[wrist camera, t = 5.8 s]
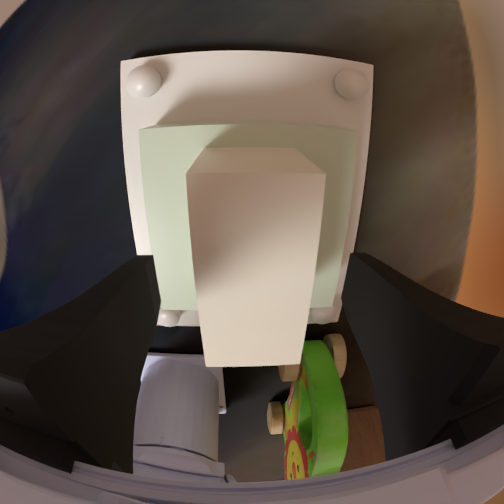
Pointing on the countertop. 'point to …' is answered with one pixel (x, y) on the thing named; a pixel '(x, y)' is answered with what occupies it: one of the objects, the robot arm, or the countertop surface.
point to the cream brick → (254, 251)
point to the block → (364, 439)
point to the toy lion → (313, 410)
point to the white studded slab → (242, 135)
